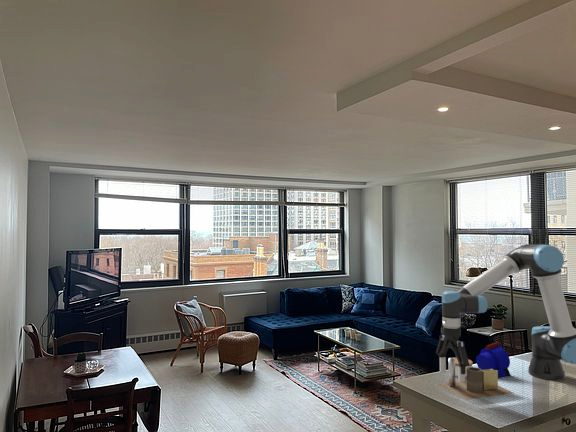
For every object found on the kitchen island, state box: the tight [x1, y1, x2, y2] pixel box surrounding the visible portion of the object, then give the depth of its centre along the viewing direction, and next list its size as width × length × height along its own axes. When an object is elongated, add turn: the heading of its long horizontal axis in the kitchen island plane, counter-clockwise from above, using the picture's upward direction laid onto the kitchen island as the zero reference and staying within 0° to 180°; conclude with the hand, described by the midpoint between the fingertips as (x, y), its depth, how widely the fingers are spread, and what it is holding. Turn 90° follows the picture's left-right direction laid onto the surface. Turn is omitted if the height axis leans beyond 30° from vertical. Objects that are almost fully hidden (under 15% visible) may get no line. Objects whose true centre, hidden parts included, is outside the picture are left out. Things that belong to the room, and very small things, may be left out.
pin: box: [447, 357, 457, 387], centre depth 186 cm, size 3×3×12 cm
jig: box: [438, 366, 514, 400], centre depth 184 cm, size 24×18×10 cm
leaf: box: [483, 370, 499, 390], centre depth 182 cm, size 7×1×8 cm, turn 103°
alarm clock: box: [475, 341, 512, 379], centre depth 207 cm, size 12×12×15 cm
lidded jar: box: [454, 357, 474, 378], centre depth 202 cm, size 11×11×9 cm
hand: (452, 376), depth 186 cm, fingers open, 12 cm apart
